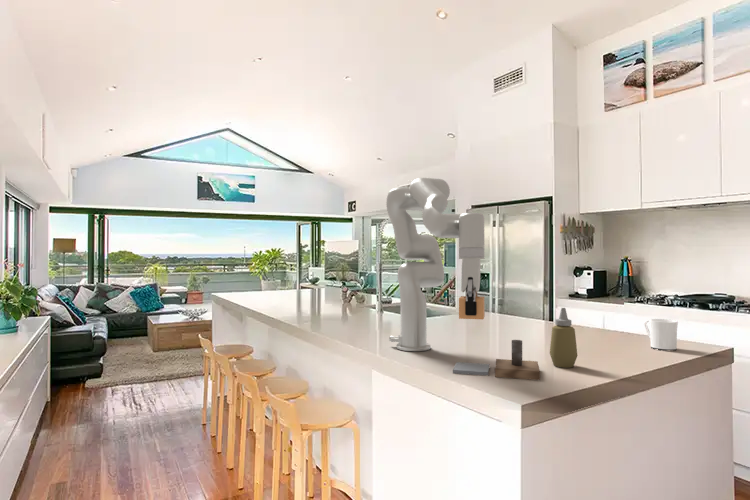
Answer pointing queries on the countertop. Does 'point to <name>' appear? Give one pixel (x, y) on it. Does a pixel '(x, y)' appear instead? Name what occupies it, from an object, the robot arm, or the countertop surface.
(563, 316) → the squeeze bottle
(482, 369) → the pad
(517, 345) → the stand
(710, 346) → the countertop surface
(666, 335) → the mug
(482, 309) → the collar
